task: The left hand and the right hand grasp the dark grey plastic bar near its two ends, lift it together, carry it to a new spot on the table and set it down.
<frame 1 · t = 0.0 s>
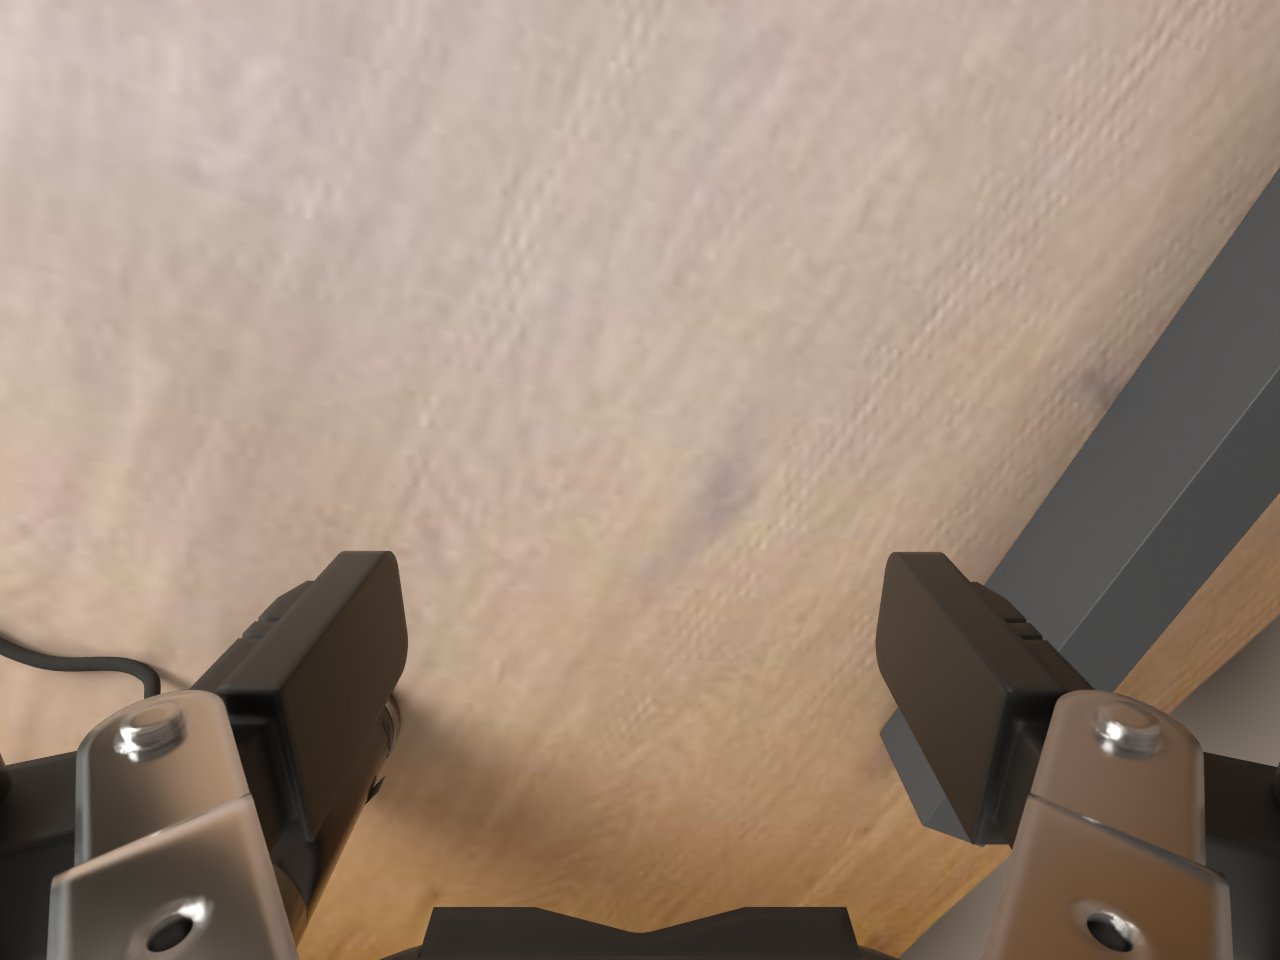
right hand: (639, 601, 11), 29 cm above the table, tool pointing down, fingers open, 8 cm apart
bar: (1233, 294, 38), on the table
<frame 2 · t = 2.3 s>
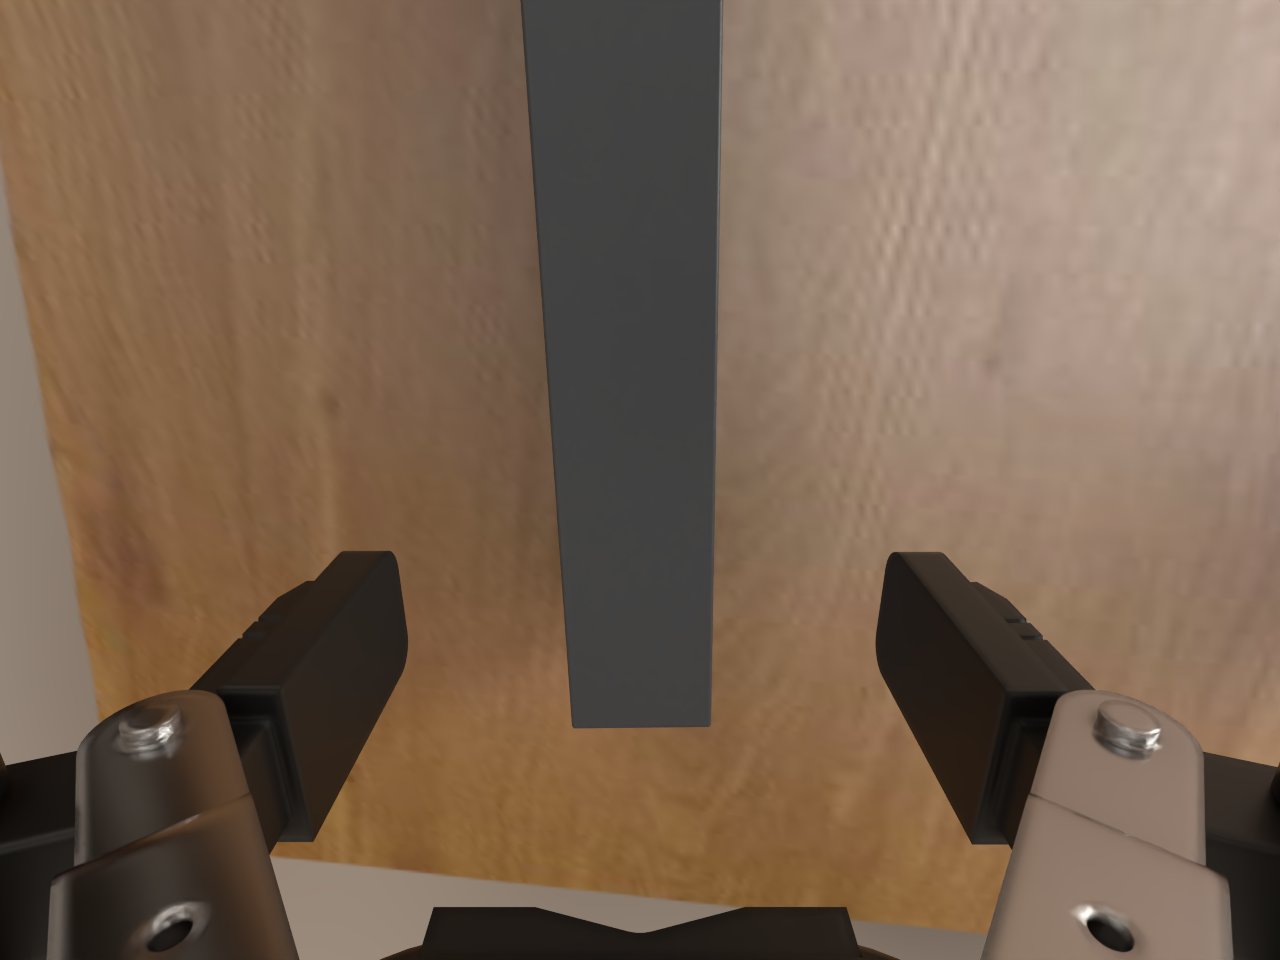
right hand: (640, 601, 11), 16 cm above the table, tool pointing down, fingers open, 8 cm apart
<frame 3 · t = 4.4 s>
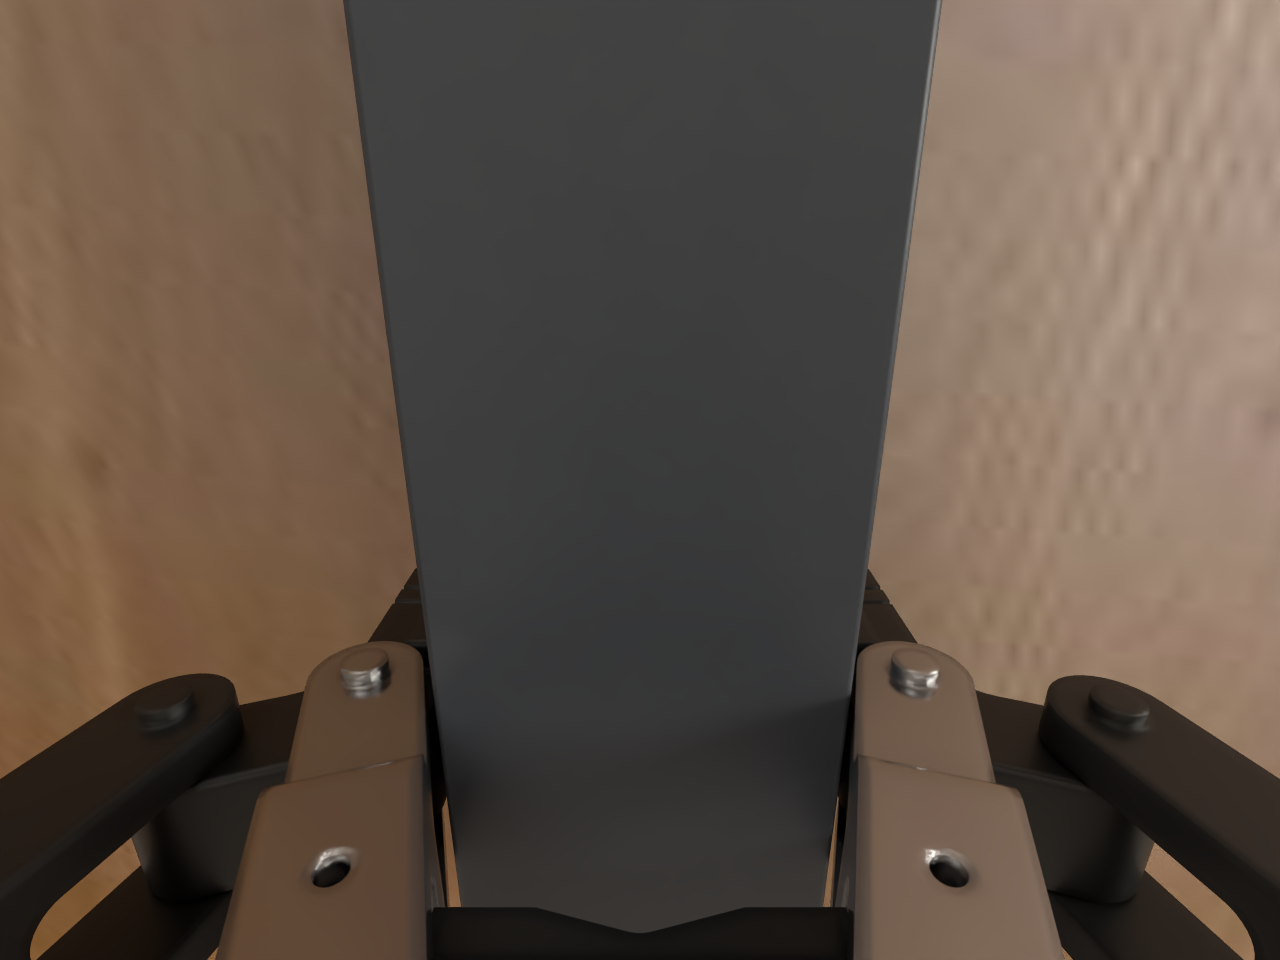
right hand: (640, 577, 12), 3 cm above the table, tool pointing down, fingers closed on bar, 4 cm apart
when the left hand's fingers open (5 cm above the table, at t = 8.9 s): bar drops 1 cm, on the table.
when the right hand's fingers open (5 cm above the table, at t = 8.9 s): bar drops 1 cm, on the table.
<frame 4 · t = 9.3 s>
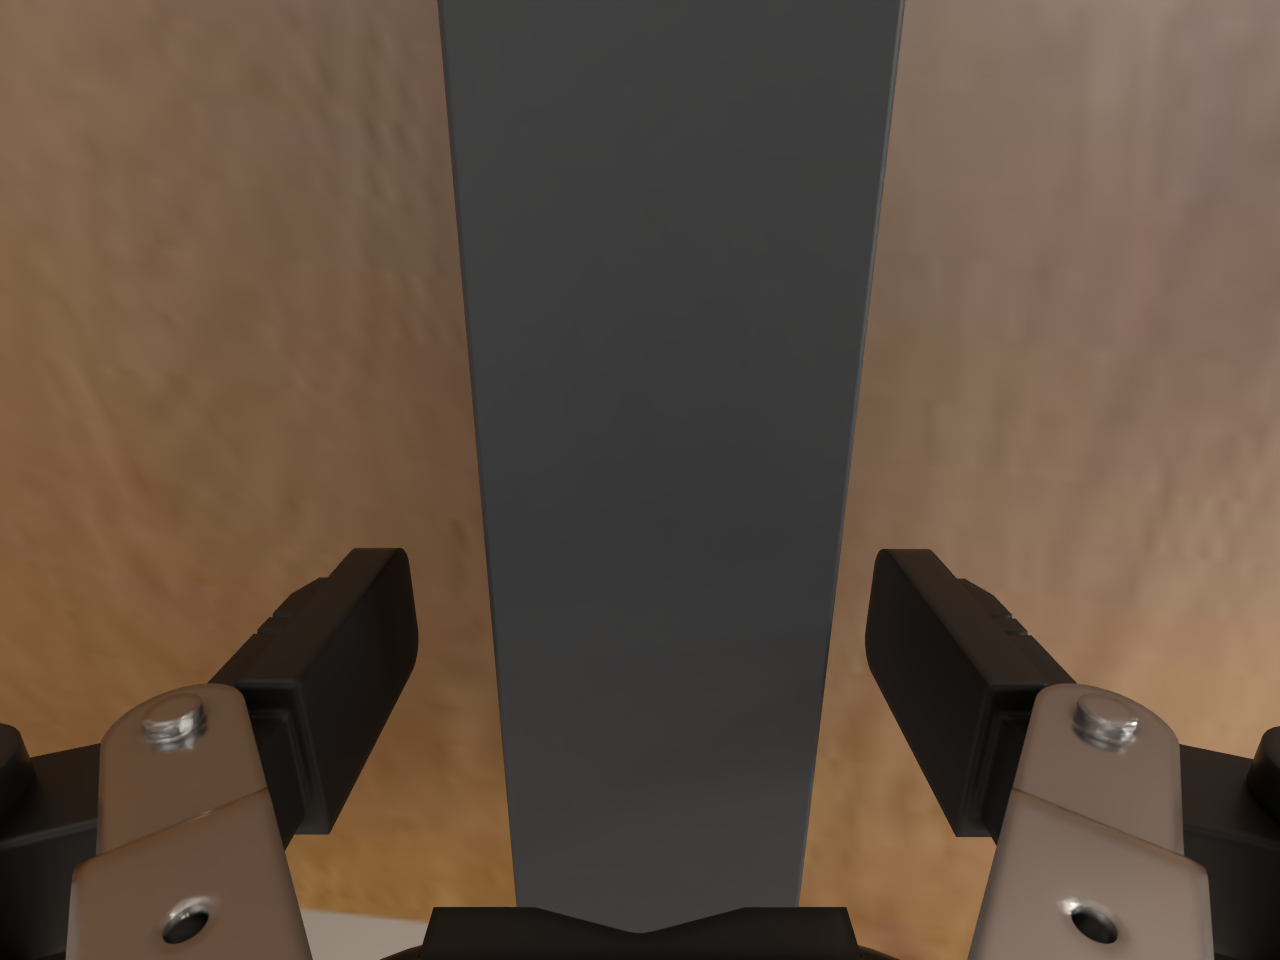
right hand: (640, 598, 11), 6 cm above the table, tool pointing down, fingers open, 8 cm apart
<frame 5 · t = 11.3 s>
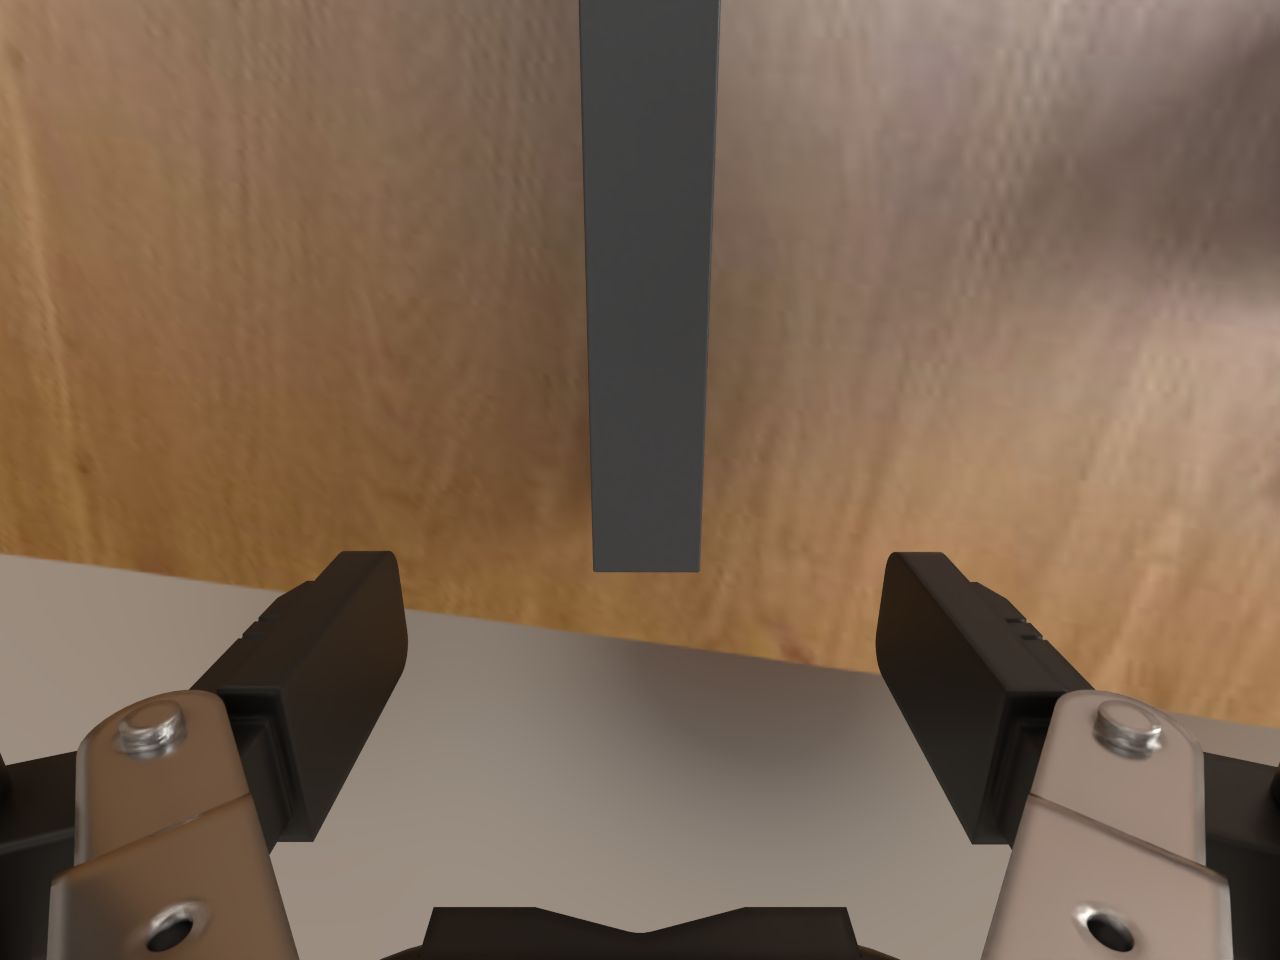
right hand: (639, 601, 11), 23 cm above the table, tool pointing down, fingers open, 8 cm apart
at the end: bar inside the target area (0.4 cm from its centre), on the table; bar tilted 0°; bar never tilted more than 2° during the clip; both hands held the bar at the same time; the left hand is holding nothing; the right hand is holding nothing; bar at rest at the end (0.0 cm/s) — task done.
